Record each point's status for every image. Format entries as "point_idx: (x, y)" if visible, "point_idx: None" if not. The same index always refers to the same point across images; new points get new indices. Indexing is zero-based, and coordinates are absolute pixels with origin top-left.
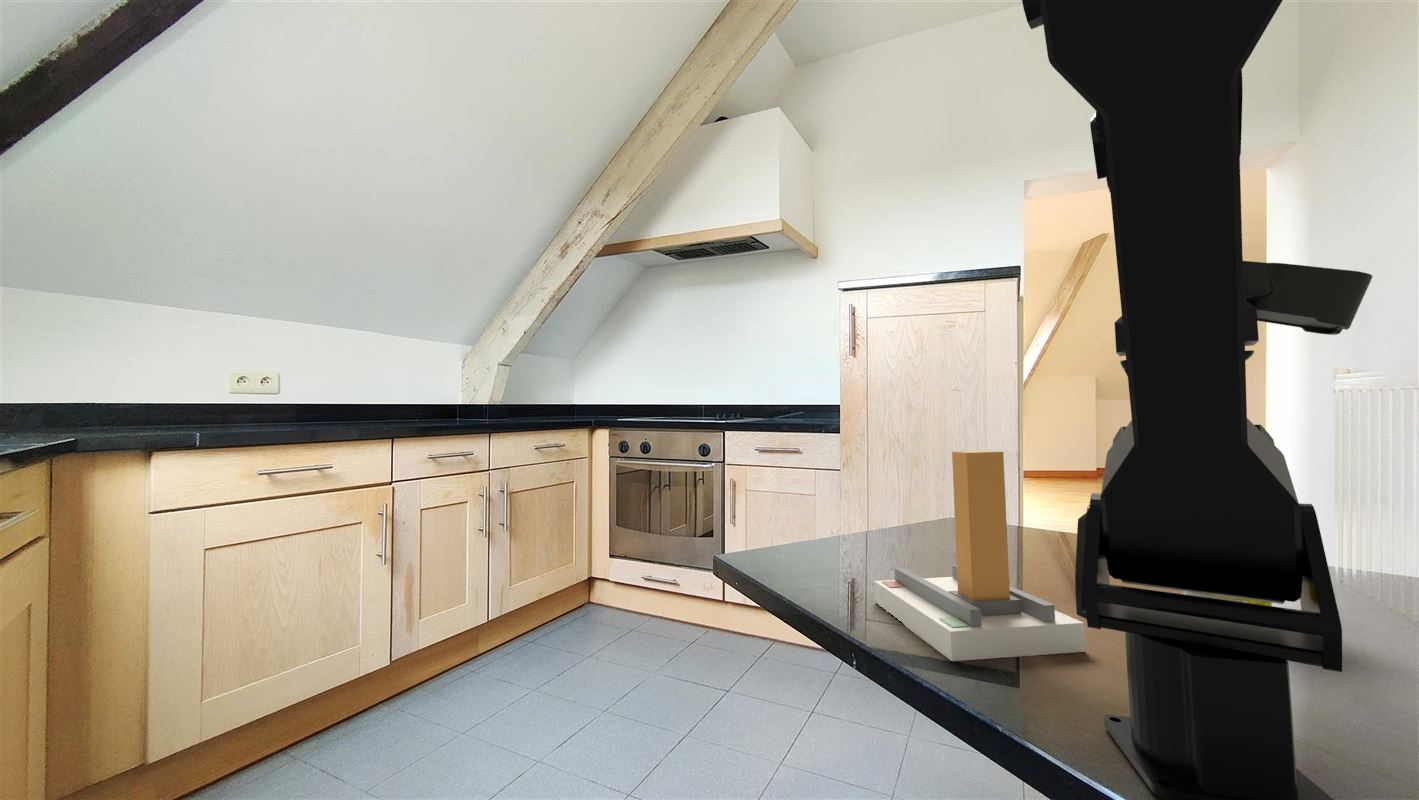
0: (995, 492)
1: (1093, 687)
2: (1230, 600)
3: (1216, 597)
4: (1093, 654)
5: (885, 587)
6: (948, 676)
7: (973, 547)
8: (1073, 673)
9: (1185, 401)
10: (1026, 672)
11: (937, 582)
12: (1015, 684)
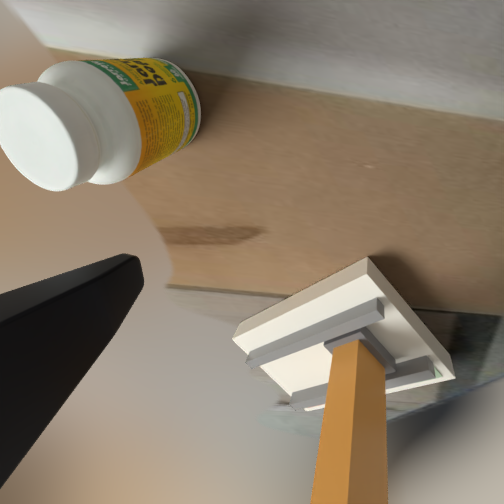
0: (361, 478)
1: (475, 261)
2: (185, 112)
3: (184, 128)
4: (370, 250)
5: (324, 406)
6: (491, 359)
7: (383, 420)
8: (440, 272)
9: None
10: (454, 306)
11: (280, 369)
12: (493, 317)
